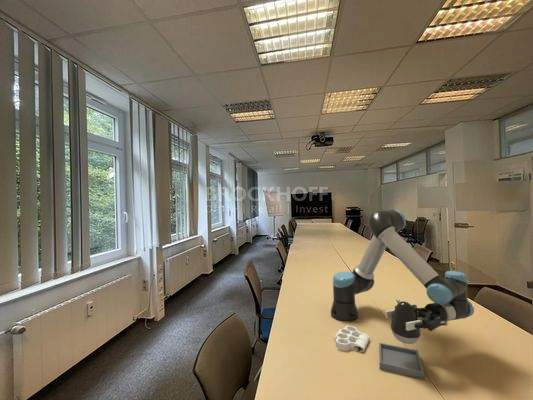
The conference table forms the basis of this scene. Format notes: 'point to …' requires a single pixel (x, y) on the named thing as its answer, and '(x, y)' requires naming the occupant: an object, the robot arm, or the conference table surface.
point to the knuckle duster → (351, 339)
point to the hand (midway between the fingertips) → (396, 320)
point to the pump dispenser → (404, 323)
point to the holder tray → (400, 360)
